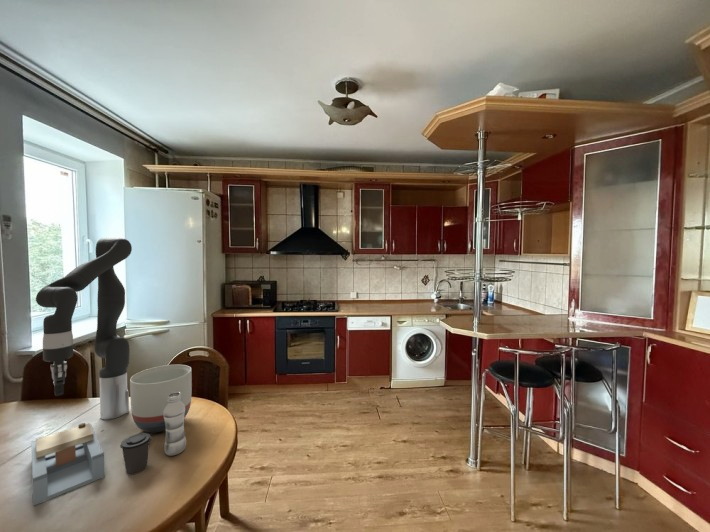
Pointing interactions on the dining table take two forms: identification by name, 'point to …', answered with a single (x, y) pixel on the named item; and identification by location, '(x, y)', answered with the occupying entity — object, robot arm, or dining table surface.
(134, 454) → the coffee cup
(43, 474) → the stand
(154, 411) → the planter
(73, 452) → the block
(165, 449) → the plastic bottle
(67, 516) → the dining table surface
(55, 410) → the dining table surface
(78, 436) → the lid
